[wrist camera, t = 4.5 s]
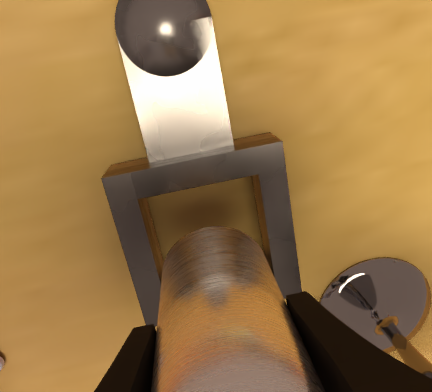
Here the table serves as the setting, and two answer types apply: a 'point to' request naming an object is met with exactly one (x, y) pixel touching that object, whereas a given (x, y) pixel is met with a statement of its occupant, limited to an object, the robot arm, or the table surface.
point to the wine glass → (383, 305)
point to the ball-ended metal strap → (188, 141)
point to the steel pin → (226, 321)
